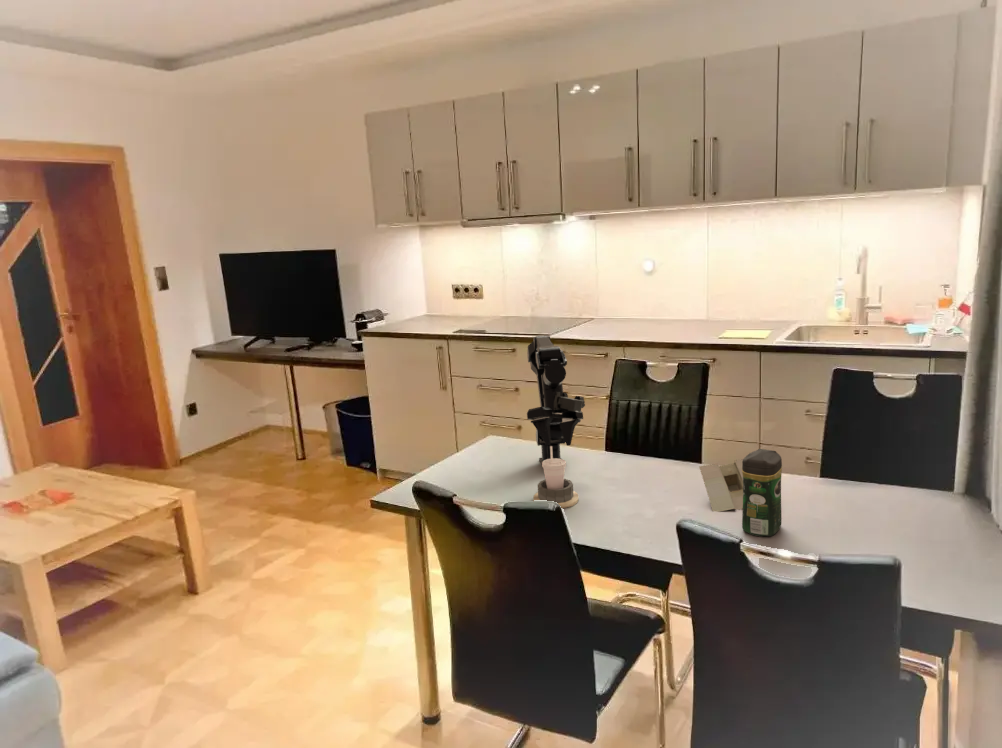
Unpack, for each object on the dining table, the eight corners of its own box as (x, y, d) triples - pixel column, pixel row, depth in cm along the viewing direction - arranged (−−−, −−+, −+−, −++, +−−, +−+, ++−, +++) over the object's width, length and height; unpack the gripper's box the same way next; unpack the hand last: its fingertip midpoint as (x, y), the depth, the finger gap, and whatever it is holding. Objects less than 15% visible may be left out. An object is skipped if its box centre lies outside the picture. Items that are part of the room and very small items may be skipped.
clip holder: (529, 494, 194) (528, 479, 193) (571, 489, 196) (571, 473, 195) (538, 511, 183) (538, 495, 182) (584, 505, 184) (583, 489, 184)
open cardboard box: (777, 515, 181) (759, 464, 190) (780, 500, 174) (761, 448, 183) (712, 526, 183) (697, 475, 192) (713, 512, 176) (697, 460, 185)
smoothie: (546, 491, 193) (543, 442, 190) (569, 492, 191) (567, 442, 188) (541, 500, 187) (538, 449, 184) (565, 501, 185) (563, 450, 182)
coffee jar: (750, 518, 171) (751, 444, 167) (785, 524, 166) (786, 449, 162) (737, 533, 163) (737, 456, 159) (772, 540, 158) (773, 461, 155)
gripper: (554, 382, 189) (560, 440, 185) (595, 387, 202) (601, 441, 199) (523, 390, 196) (528, 446, 193) (564, 394, 209) (570, 447, 206)
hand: (558, 445), depth 197 cm, fingers open, 9 cm apart
